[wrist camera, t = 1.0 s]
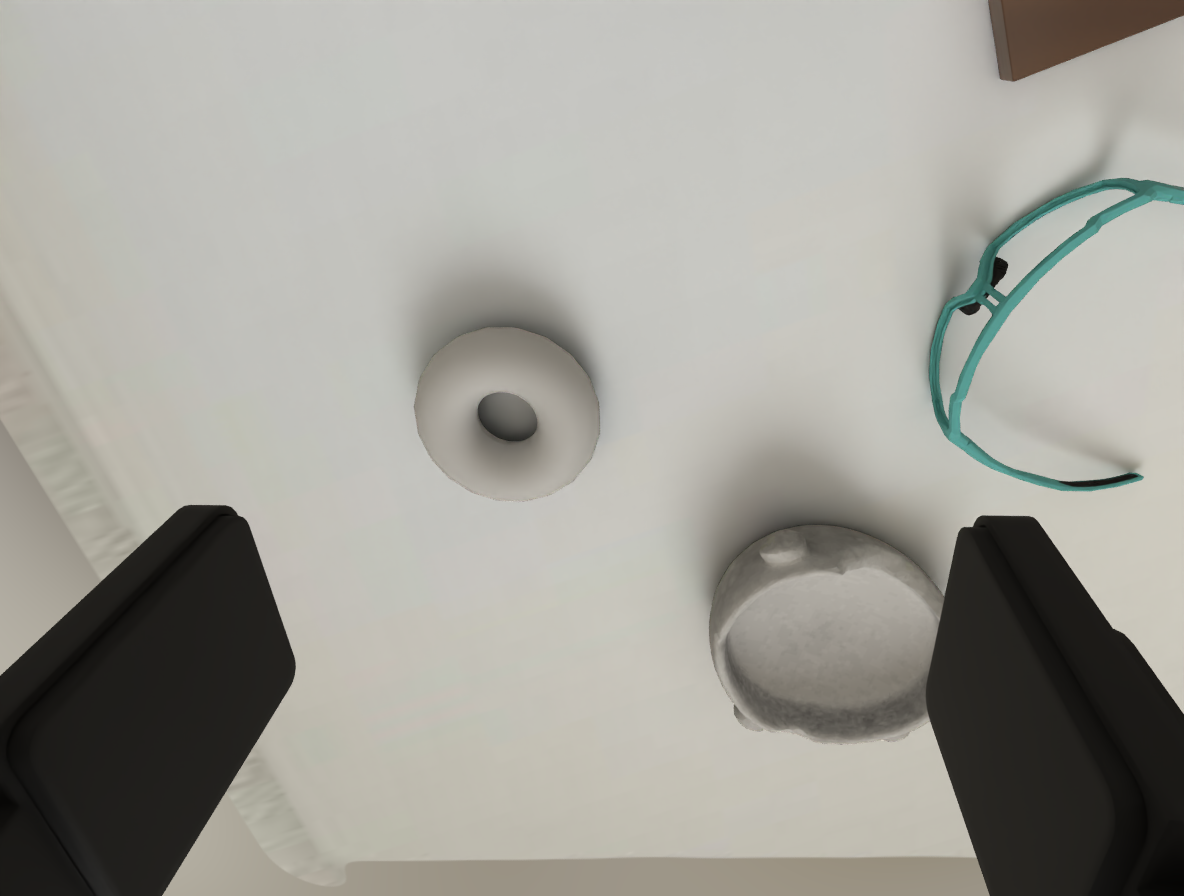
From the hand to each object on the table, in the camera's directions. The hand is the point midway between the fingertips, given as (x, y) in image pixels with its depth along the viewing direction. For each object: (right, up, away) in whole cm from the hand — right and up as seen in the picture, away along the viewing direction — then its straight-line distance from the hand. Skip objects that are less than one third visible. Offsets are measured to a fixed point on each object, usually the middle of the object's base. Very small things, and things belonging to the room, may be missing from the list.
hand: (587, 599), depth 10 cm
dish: (+14, -8, +36) cm, 39 cm away
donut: (-4, +5, +31) cm, 32 cm away
